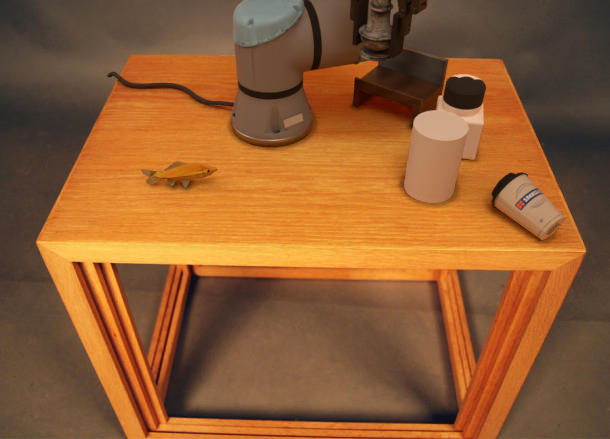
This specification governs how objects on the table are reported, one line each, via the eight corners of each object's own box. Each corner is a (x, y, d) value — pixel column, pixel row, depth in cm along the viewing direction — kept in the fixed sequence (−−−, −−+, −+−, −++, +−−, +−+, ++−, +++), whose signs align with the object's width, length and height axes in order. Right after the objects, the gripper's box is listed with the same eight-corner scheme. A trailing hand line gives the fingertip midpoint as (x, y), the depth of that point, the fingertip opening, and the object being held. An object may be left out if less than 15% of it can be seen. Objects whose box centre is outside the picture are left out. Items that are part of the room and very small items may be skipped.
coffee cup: (531, 252, 85) (484, 208, 90) (566, 225, 85) (518, 183, 90) (538, 232, 79) (487, 186, 84) (575, 203, 79) (523, 159, 84)
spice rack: (352, 106, 111) (355, 59, 104) (377, 85, 117) (382, 39, 110) (416, 129, 105) (424, 81, 98) (439, 106, 111) (448, 59, 104)
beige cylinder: (454, 175, 95) (469, 114, 87) (453, 206, 89) (468, 144, 81) (406, 168, 96) (415, 107, 88) (401, 198, 90) (411, 136, 82)
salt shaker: (369, 65, 84) (376, -17, 75) (350, 48, 88) (355, -31, 79) (403, 57, 85) (413, -24, 77) (383, 41, 89) (391, -37, 81)
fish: (222, 177, 93) (214, 152, 89) (220, 185, 91) (212, 161, 88) (151, 185, 94) (140, 161, 91) (148, 193, 93) (137, 169, 90)
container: (475, 161, 98) (492, 95, 89) (429, 155, 99) (442, 90, 90) (474, 136, 103) (490, 71, 94) (431, 131, 104) (443, 67, 96)
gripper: (315, -132, 72) (313, 39, 88) (447, -108, 64) (418, 77, 80) (348, -142, 76) (340, 23, 92) (477, -120, 68) (444, 57, 84)
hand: (377, 47), depth 86 cm, fingers closed on salt shaker, 6 cm apart
